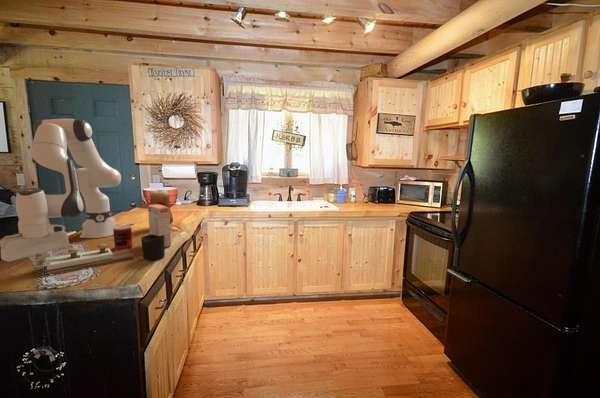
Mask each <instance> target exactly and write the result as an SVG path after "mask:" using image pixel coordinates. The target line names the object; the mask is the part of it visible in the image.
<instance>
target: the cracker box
mask: <svg viewBox="0 0 600 398" xmlns="http://www.w3.org/2000/svg"><path fill="white" fill-rule="evenodd" d="M147 209H148V229H149V235H157V236H162V235H164V238H165V248H169V247H171V246H172V245H171V243H172V242H171V240H172V239H171V224H170V211H169V207H166V206H163V205H159V204H155V205H150V204H148V205H147Z"/></svg>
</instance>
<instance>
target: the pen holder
mask: <svg viewBox="0 0 600 398" xmlns="http://www.w3.org/2000/svg"><path fill="white" fill-rule="evenodd" d="M140 240H141V241H140V242H141V249H142V250H141V251H142V257H143V260H144V261H147V262H154V261H159V260H162V259H163V258H164V257H165V253H166V252H165V250H166V249H165V248H166V247H165V238H164V235H162V236H157V235H150V234H147V235H143V236H142V237H141V238H140Z"/></svg>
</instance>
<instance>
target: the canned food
mask: <svg viewBox="0 0 600 398" xmlns="http://www.w3.org/2000/svg"><path fill="white" fill-rule="evenodd" d="M115 226H116V227H114V228H113V233H114V235H113V242H114V248H115V251H116V250H121V249H128V250H130V249H132V248H133V235H132V234H133V232H132V225H129V224H127V225H126V224H124V225H123V224H122V225H115Z"/></svg>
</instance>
